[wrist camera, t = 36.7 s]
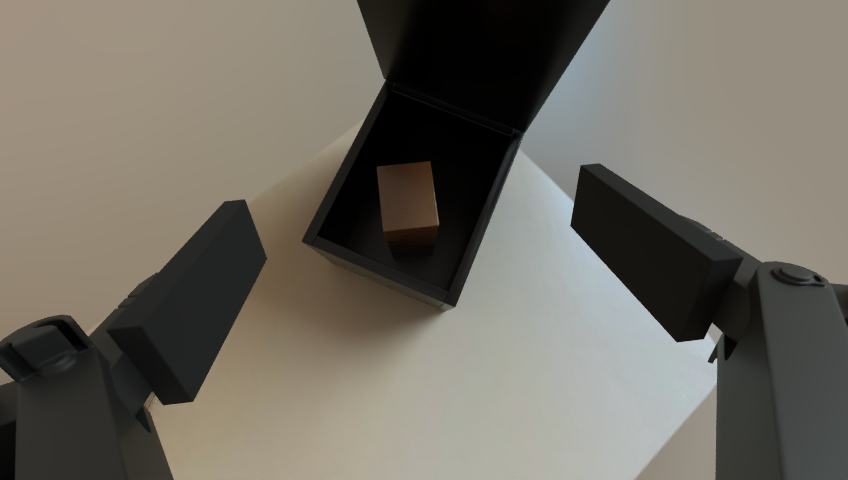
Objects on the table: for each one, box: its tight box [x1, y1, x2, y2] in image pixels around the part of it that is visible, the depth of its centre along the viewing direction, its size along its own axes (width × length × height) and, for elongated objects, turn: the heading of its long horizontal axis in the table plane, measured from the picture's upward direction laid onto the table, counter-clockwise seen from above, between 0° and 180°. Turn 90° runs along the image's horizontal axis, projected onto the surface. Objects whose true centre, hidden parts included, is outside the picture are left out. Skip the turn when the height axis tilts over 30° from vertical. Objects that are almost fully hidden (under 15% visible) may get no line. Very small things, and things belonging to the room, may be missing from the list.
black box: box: [302, 80, 524, 311], centre depth 33 cm, size 16×13×9 cm
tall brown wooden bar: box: [377, 161, 439, 259], centre depth 31 cm, size 4×5×11 cm
